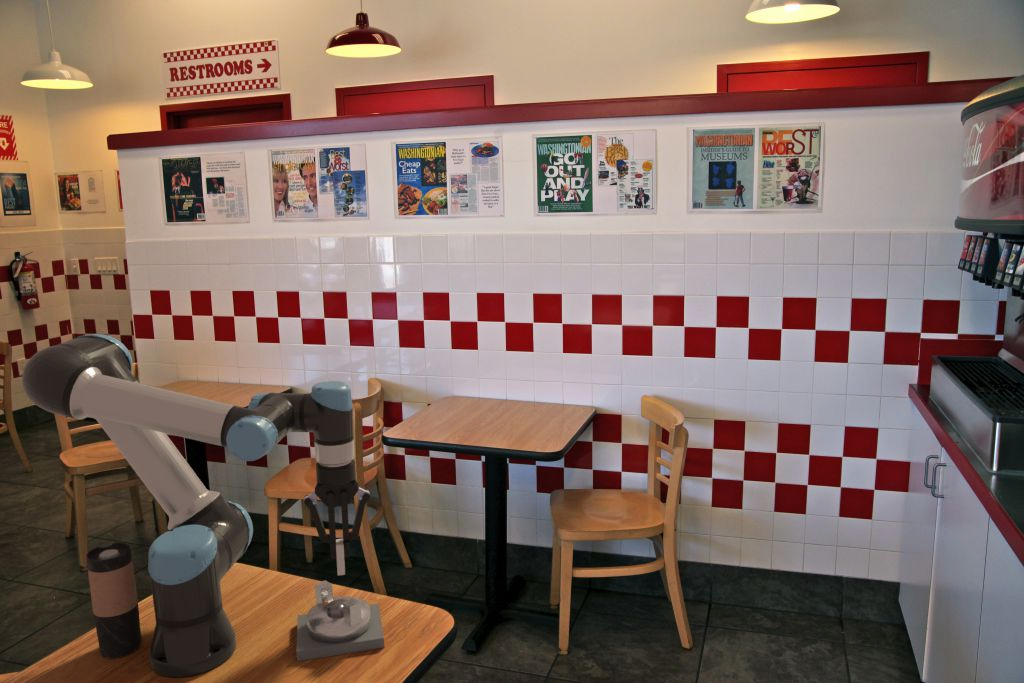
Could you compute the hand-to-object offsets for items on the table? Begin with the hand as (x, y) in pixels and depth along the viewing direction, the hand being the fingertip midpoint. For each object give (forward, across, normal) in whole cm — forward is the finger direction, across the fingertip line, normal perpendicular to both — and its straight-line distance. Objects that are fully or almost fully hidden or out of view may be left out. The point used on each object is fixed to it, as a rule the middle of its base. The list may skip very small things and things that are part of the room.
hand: (341, 571), depth 159 cm
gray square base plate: (+10, +1, +7) cm, 12 cm away
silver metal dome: (+8, +1, +7) cm, 10 cm away
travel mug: (+11, +42, 0) cm, 43 cm away
